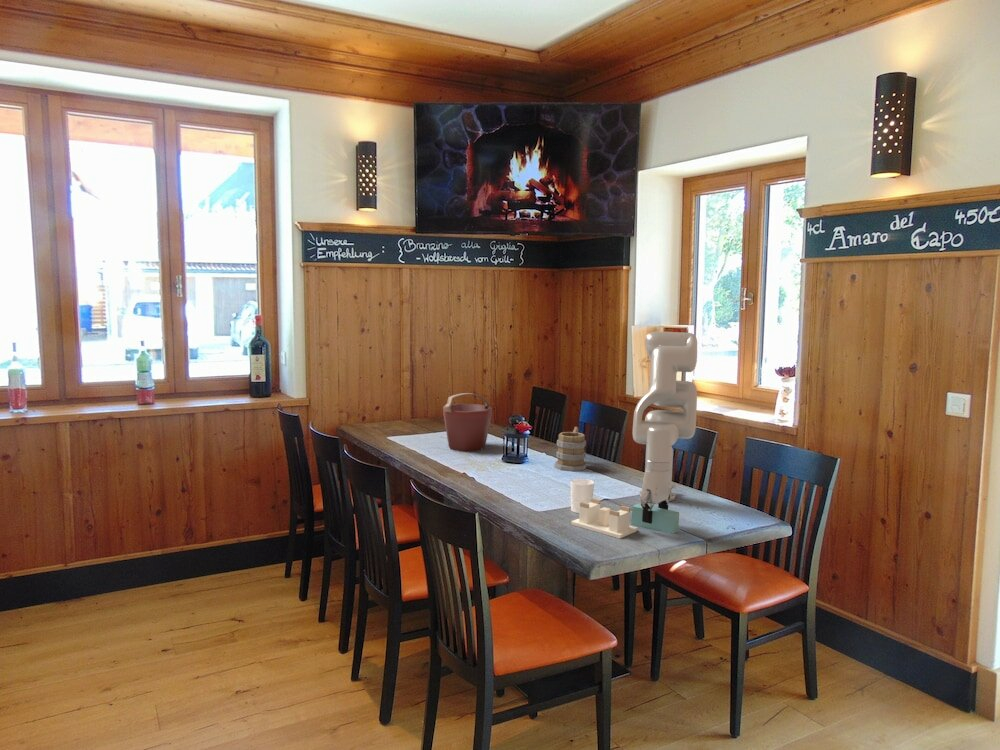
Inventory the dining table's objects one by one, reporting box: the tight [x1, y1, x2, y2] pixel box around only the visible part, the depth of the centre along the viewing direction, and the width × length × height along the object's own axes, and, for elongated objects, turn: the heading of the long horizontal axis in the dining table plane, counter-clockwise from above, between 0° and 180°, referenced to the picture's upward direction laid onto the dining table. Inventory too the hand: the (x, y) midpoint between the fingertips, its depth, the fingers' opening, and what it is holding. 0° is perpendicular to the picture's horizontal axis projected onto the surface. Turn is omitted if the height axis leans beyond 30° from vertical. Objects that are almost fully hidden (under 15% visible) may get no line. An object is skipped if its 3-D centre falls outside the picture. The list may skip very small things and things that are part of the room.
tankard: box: [554, 426, 588, 472], centre depth 304 cm, size 20×13×15 cm, turn 162°
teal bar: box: [630, 503, 680, 534], centre depth 228 cm, size 4×14×6 cm, turn 55°
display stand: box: [570, 497, 639, 539], centre depth 226 cm, size 10×18×7 cm, turn 49°
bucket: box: [442, 392, 493, 452], centre depth 332 cm, size 24×22×25 cm
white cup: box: [569, 478, 595, 514], centre depth 242 cm, size 8×8×10 cm
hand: (655, 519), depth 227 cm, fingers open, 9 cm apart
